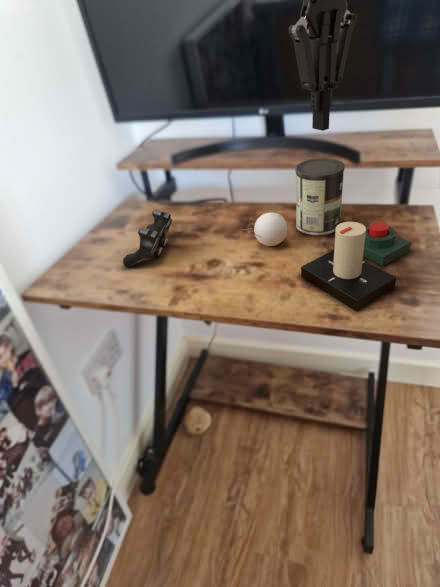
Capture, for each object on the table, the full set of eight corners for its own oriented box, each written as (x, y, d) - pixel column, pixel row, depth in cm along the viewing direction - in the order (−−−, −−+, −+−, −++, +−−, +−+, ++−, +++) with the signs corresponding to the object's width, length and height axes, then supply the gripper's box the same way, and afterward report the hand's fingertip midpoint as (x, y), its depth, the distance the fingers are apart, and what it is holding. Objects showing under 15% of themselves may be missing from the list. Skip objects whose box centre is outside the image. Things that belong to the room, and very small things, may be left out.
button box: (409, 251, 82) (412, 233, 79) (382, 266, 79) (385, 248, 76) (370, 233, 89) (372, 217, 86) (344, 247, 86) (345, 230, 84)
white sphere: (290, 236, 92) (290, 206, 88) (284, 253, 87) (283, 223, 82) (248, 234, 95) (245, 205, 91) (240, 250, 90) (236, 221, 85)
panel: (395, 288, 73) (397, 276, 72) (356, 311, 69) (357, 299, 68) (337, 257, 83) (338, 246, 81) (300, 277, 79) (300, 265, 78)
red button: (391, 233, 81) (392, 226, 80) (379, 240, 80) (380, 232, 79) (376, 227, 84) (377, 220, 83) (364, 233, 82) (365, 226, 81)
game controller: (147, 280, 90) (159, 246, 83) (119, 267, 89) (128, 232, 83) (170, 242, 102) (182, 210, 95) (145, 231, 101) (155, 198, 95)
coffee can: (335, 212, 98) (339, 155, 90) (344, 233, 90) (349, 172, 82) (293, 216, 99) (292, 160, 91) (298, 237, 91) (298, 177, 83)
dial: (346, 260, 77) (349, 217, 72) (367, 271, 74) (372, 226, 68) (327, 271, 76) (329, 227, 70) (347, 282, 72) (351, 237, 66)
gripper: (310, -36, 54) (308, 142, 69) (376, -45, 59) (361, 122, 73) (274, -30, 60) (279, 134, 74) (338, -39, 64) (331, 116, 79)
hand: (320, 128), depth 74 cm, fingers closed
